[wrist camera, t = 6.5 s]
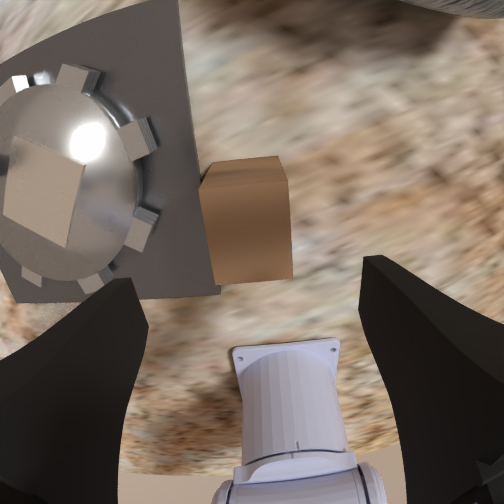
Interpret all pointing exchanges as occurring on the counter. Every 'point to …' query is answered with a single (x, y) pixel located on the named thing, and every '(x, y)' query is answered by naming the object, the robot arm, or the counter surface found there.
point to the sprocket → (70, 179)
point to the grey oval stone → (464, 7)
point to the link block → (247, 220)
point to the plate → (153, 165)
